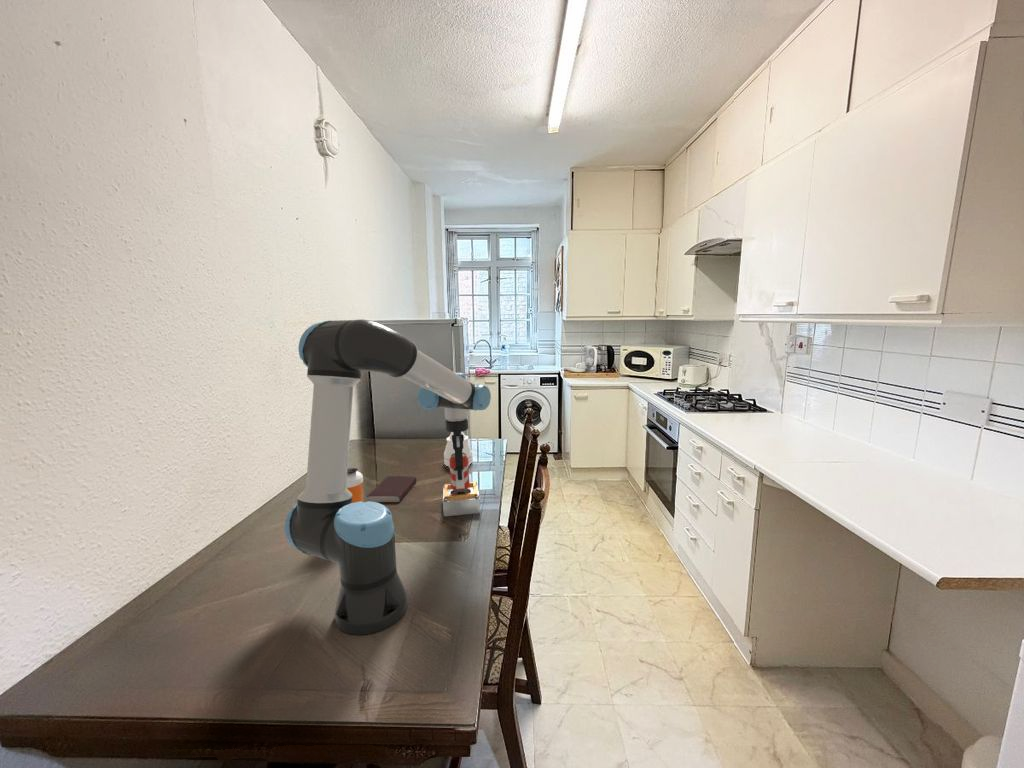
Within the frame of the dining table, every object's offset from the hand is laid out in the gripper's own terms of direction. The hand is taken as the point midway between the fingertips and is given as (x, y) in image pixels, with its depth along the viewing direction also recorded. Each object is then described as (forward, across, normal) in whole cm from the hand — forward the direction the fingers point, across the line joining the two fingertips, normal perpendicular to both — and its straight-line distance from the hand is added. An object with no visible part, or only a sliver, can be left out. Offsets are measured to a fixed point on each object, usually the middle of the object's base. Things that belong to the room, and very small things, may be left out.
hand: (460, 484), depth 145 cm
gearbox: (+8, 0, 0) cm, 8 cm away
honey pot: (+8, +47, 0) cm, 48 cm away
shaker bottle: (+8, -11, +34) cm, 37 cm away
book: (+9, +19, +26) cm, 33 cm away
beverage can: (+2, 0, 0) cm, 2 cm away
